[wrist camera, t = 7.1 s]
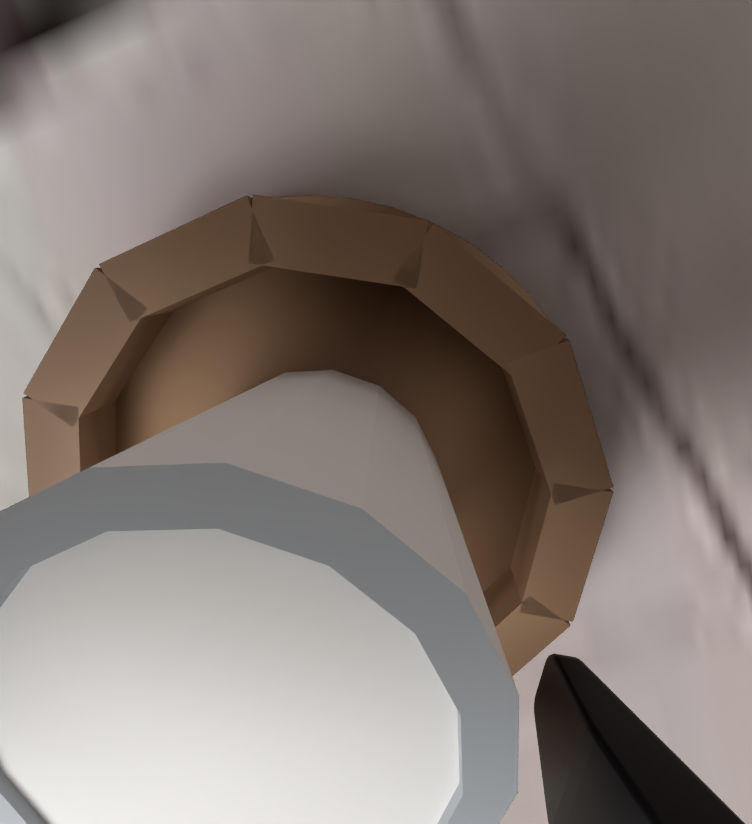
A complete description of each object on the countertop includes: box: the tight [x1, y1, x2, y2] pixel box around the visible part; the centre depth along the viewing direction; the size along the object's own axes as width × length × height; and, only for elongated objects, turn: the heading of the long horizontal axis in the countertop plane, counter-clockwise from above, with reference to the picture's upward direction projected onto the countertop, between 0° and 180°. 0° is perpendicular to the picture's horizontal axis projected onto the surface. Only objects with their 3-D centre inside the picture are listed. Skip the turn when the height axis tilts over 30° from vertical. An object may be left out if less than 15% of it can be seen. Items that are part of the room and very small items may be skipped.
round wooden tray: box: [22, 195, 613, 676], centre depth 12 cm, size 13×13×2 cm
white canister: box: [0, 370, 519, 824], centre depth 9 cm, size 7×7×7 cm
